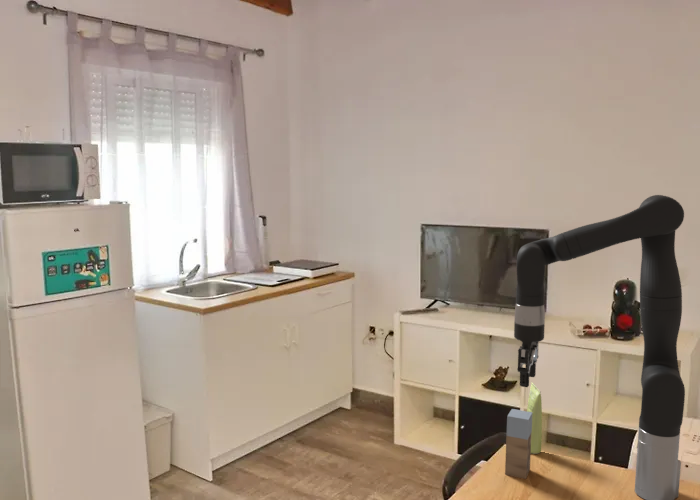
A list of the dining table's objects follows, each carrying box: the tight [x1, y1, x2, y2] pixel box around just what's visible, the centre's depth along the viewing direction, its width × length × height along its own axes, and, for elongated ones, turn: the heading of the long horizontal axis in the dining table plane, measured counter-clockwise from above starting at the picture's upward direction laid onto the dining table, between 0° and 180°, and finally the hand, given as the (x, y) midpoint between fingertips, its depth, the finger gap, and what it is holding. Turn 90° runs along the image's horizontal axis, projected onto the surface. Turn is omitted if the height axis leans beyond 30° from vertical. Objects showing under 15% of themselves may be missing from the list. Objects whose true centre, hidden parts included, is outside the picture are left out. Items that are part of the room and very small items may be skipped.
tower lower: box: [504, 451, 532, 480], centre depth 170 cm, size 6×6×6 cm
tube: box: [526, 381, 543, 455], centre depth 181 cm, size 6×5×20 cm
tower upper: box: [505, 434, 531, 459], centre depth 169 cm, size 6×6×6 cm
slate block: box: [506, 408, 532, 440], centre depth 168 cm, size 6×6×6 cm
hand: (527, 381), depth 165 cm, fingers open, 8 cm apart
